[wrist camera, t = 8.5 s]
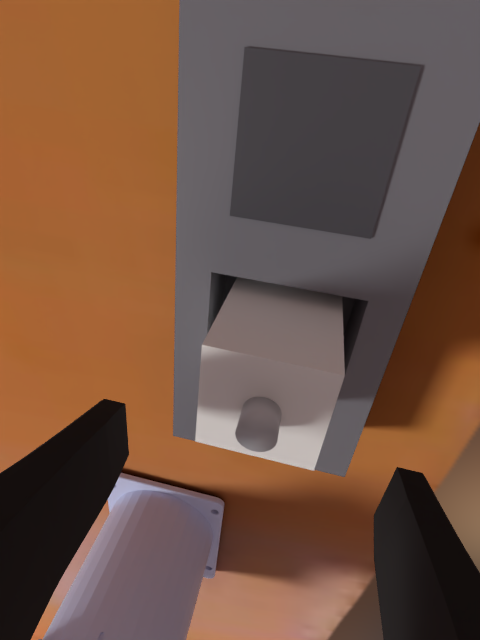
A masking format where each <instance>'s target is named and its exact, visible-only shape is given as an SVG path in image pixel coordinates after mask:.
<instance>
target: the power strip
mask: <svg viewBox="0 0 480 640" xmlns="http://www.w3.org/2000/svg"><path fill="white" fill-rule="evenodd" d="M479 123H480V0H180V11H179V78H178V146H177V214H176V282H175V349H174V417H173V436H177V437H181V438H185V439H189V440H193V441H195V436H196V422H197V407H198V393H199V379H200V364H201V350H202V343H203V342H204V340H205V338H206V336H207V334H208V332H209V330H210V328H211V326H212V324H213V322H214V321H215V319H216V317H217V315H218V313H219V311H220V309H221V307H222V305H223V303H224V301H225V300H226V298H227V296H228V294H229V292H230V290H231V288H232V286H233V284H234V282H235V280H236V279H237V277H240V278H246V279H251V280H257V281H262V282H268V283H273V284H278V285H284V286H289V287H295V288H300V289H306V290H311V291H317V292H322V293H327V294H333V295H338V296H342V304H343V335H344V365H345V377H344V380H343V383H342V386H341V389H340V392H339V395H338V398H337V401H336V404H335V407H334V410H333V414H332V417H331V420H330V423H329V426H328V429H327V432H326V435H325V438H324V441H323V444H322V447H321V450H320V454H319V457H318V460H317V463H316V466H315V469H314V470H318V471H322V472H326V473H330V474H334V475H338V476H343V477H345V475H346V472H347V469H348V467H349V464H350V462H351V459H352V456H353V454H354V451H355V448H356V446H357V443H358V441H359V438H360V435H361V433H362V430H363V427H364V425H365V422H366V420H367V417H368V414H369V412H370V409H371V406H372V404H373V401H374V399H375V396H376V393H377V391H378V388H379V385H380V383H381V380H382V378H383V375H384V372H385V370H386V367H387V364H388V362H389V359H390V356H391V354H392V351H393V349H394V346H395V343H396V341H397V338H398V335H399V333H400V330H401V328H402V325H403V322H404V320H405V317H406V314H407V312H408V309H409V307H410V304H411V301H412V299H413V296H414V293H415V291H416V288H417V286H418V283H419V280H420V278H421V275H422V272H423V270H424V267H425V265H426V262H427V259H428V257H429V254H430V251H431V249H432V246H433V244H434V241H435V238H436V236H437V233H438V230H439V228H440V225H441V223H442V220H443V217H444V215H445V212H446V209H447V207H448V204H449V202H450V199H451V196H452V194H453V191H454V188H455V186H456V183H457V181H458V178H459V175H460V173H461V170H462V167H463V165H464V162H465V160H466V157H467V154H468V152H469V149H470V146H471V144H472V141H473V139H474V136H475V133H476V131H477V128H478V125H479Z"/></svg>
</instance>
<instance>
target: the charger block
mask: <svg viewBox="0 0 480 640" xmlns="http://www.w3.org/2000/svg"><path fill="white" fill-rule="evenodd" d="M344 377H345V365H344V335H343V304H342V296H338V295H333V294H327V293H322V292H317V291H311V290H306V289H300V288H295V287H289V286H284V285H278V284H273V283H268V282H262V281H257V280H251V279H246V278H240V277H237V279H236V280H235V282H234V284H233V286H232V288H231V290H230V292H229V294H228V296H227V298H226V300H225V301H224V303H223V305H222V307H221V309H220V311H219V313H218V315H217V317H216V319H215V321H214V322H213V324H212V326H211V328H210V330H209V332H208V334H207V336H206V338H205V340H204V342H203V343H202V350H201V364H200V379H199V393H198V407H197V422H196V436H195V441H196V442H200V443H204V444H208V445H212V446H216V447H220V448H224V449H228V450H232V451H236V452H240V453H244V454H248V455H252V456H256V457H260V458H264V459H268V460H272V461H277V462H281V463H285V464H289V465H293V466H297V467H301V468H305V469H309V470H313V471H314V469H315V466H316V463H317V460H318V457H319V454H320V450H321V447H322V444H323V441H324V438H325V435H326V432H327V429H328V426H329V423H330V420H331V417H332V414H333V410H334V407H335V404H336V401H337V398H338V395H339V392H340V389H341V386H342V383H343V380H344Z"/></svg>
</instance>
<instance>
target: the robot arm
mask: <svg viewBox="0 0 480 640" xmlns="http://www.w3.org/2000/svg"><path fill="white" fill-rule="evenodd" d="M128 455H129V449H128V436H127V422H126V408H125V404H124V403H120V402H116V401H111V400H107V399H103V400H102V401H100V402H99V403H98V404H96V405H95V406H94V407H92V408H91V409H90V410H88V411H87V412H86V413H84V414H83V415H82V416H80V417H79V418H78V419H76V420H75V421H74V422H72V423H71V424H70V425H68V426H67V427H66V428H64V429H63V430H62V431H60V432H59V433H58V434H56V435H55V436H53V437H52V438H51V439H49V440H48V441H47V442H45V443H44V444H42V445H41V446H40V447H38V448H37V449H35V450H34V451H33V452H31V453H30V454H28V455H27V456H25V457H24V458H23V459H21V460H20V461H18V462H17V463H15V464H14V465H12V466H10V467H9V468H7V469H6V470H4V471H3V472H1V473H0V640H31V638H32V635H33V633H34V631H35V629H36V627H37V625H38V623H39V621H40V619H41V617H42V615H43V613H44V611H45V609H46V607H47V605H48V602H49V600H50V598H51V596H52V594H53V592H54V590H55V588H56V587H57V585H58V583H59V581H60V579H61V578H62V576H63V574H64V572H65V570H66V569H67V567H68V565H69V564H70V562H71V560H72V559H73V557H74V555H75V553H76V552H77V550H78V548H79V547H80V545H81V543H82V542H83V540H84V538H85V537H86V535H87V533H88V532H89V530H90V528H91V527H92V525H93V523H94V522H95V520H96V518H97V516H98V515H99V513H100V511H101V510H102V508H103V506H104V504H105V503H106V501H107V499H108V504H109V512H110V514H109V516H108V518H107V519H106V521H105V523H104V525H103V527H102V529H101V531H100V533H99V534H98V536H97V538H96V540H95V542H94V544H93V546H92V548H91V550H90V551H89V553H88V555H87V557H86V559H85V561H84V563H83V565H82V566H81V568H80V570H79V572H78V574H77V576H76V578H75V580H74V581H73V583H72V585H71V587H70V589H69V591H68V593H67V595H66V596H65V598H64V600H63V602H62V604H61V606H60V608H59V610H58V611H57V613H56V615H55V617H54V619H53V621H52V623H51V625H50V627H49V628H48V630H47V632H46V634H45V636H44V638H43V640H186V637H187V634H188V630H189V626H190V623H191V619H192V615H193V612H194V608H195V604H196V601H197V597H198V593H199V589H200V586H201V582H202V578H203V577H205V578H213V577H214V576H215V572H216V564H217V557H218V549H219V542H220V534H221V527H222V519H223V512H224V502H223V500H222V499H220V498H218V497H214V496H210V495H206V494H202V493H198V492H194V491H190V490H187V489H183V488H179V487H175V486H171V485H167V484H163V483H159V482H156V481H152V480H148V479H144V478H140V477H136V476H132V475H128V474H125V473H121V471H122V469H123V467H124V464H125V462H126V460H127V457H128ZM374 562H375V571H376V579H377V587H378V596H379V605H380V613H381V620H382V630H383V638H384V640H480V573H479V571H478V569H477V568H476V566H475V565H474V563H473V561H472V559H471V558H470V556H469V554H468V553H467V551H466V550H465V548H464V546H463V544H462V543H461V541H460V539H459V537H458V536H457V534H456V532H455V530H454V529H453V527H452V525H451V524H450V521H449V520H448V518H447V517H446V514H445V512H444V511H443V509H442V507H441V505H440V503H439V502H438V500H437V498H436V496H435V494H434V492H433V491H432V489H431V487H430V485H429V483H428V481H427V480H426V478H425V476H424V475H423V473H420V472H416V471H411V470H407V469H403V468H398V467H397V468H396V470H395V473H394V475H393V477H392V479H391V481H390V483H389V485H388V487H387V489H386V491H385V493H384V495H383V498H382V500H381V502H380V504H379V506H378V508H377V510H376V512H375V514H374ZM38 640H42V639H38Z"/></svg>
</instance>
